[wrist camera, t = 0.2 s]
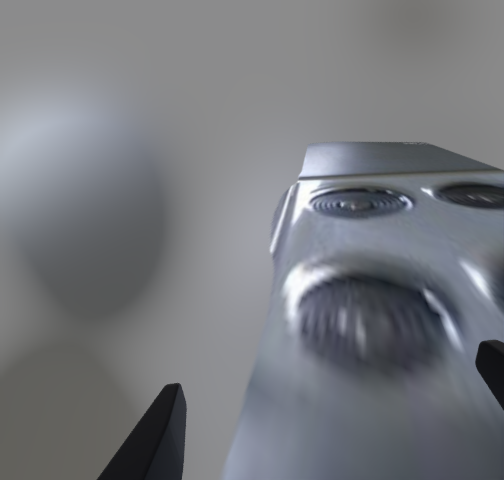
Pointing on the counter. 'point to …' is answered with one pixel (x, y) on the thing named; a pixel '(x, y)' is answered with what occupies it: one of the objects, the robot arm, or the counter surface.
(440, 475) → the counter surface
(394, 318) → the counter surface
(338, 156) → the counter surface
